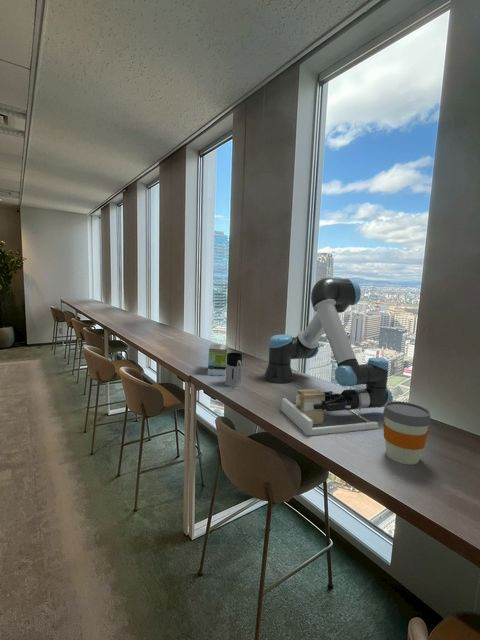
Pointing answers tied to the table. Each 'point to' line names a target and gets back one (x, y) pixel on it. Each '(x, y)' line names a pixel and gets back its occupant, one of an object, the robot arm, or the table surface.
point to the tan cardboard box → (311, 396)
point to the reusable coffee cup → (405, 431)
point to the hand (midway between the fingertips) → (300, 403)
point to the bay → (307, 425)
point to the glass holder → (234, 370)
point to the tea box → (217, 359)
